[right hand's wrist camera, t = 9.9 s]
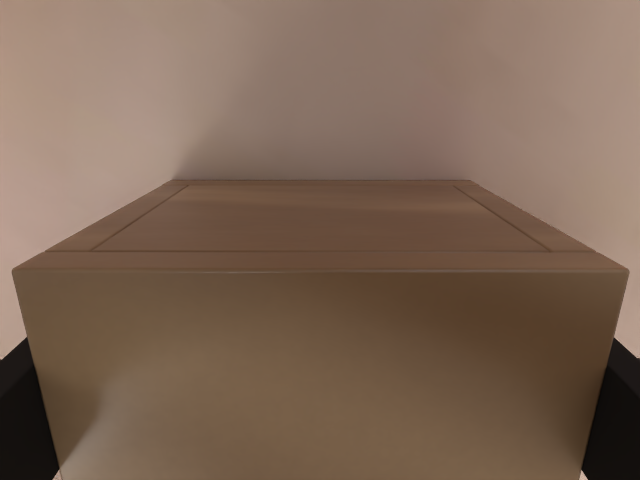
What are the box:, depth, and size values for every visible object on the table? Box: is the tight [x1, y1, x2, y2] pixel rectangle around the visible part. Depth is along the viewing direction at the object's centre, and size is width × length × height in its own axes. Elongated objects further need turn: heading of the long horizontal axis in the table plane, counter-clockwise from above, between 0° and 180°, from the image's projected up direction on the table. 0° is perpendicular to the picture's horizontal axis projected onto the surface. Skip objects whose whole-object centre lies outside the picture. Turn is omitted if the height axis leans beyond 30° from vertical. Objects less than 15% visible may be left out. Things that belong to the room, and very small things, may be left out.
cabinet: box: [12, 180, 629, 480], centre depth 15 cm, size 17×12×9 cm
